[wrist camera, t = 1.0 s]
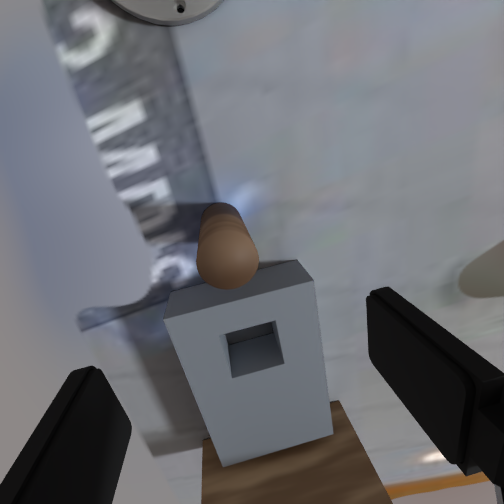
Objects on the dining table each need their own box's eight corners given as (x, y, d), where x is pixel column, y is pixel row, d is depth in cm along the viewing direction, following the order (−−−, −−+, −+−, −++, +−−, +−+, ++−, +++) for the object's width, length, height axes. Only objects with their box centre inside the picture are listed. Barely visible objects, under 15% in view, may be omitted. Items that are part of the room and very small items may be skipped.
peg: (195, 207, 25) (188, 240, 16) (236, 198, 26) (252, 225, 16) (206, 245, 27) (205, 295, 18) (245, 236, 27) (263, 281, 18)
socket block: (170, 291, 28) (163, 319, 23) (297, 259, 29) (313, 280, 24) (221, 427, 36) (222, 467, 32) (318, 398, 37) (333, 434, 33)
